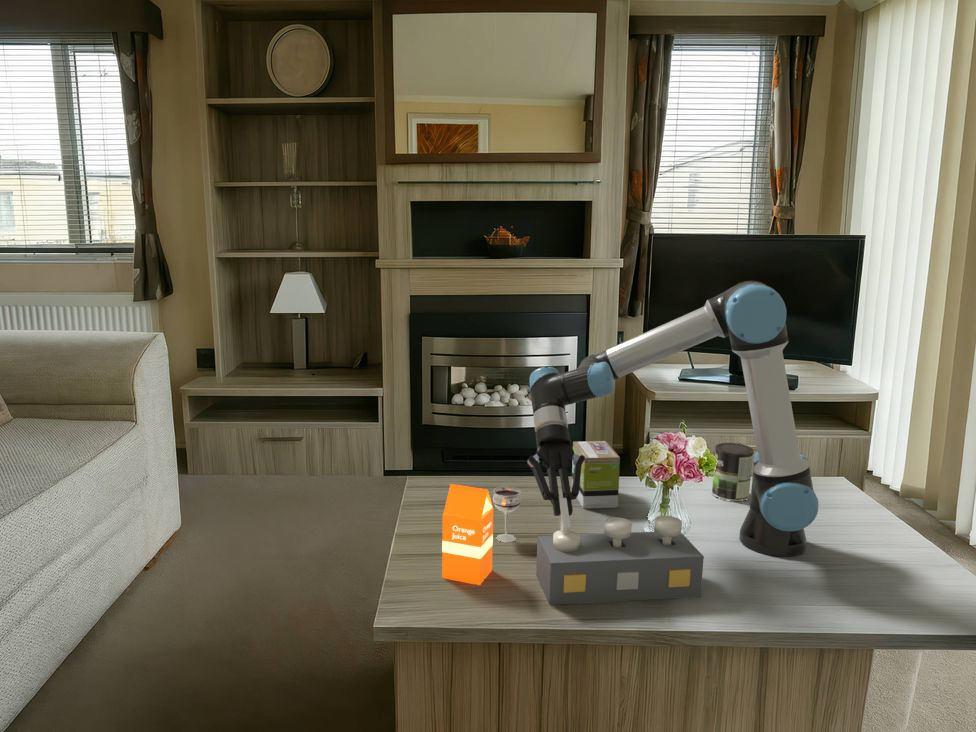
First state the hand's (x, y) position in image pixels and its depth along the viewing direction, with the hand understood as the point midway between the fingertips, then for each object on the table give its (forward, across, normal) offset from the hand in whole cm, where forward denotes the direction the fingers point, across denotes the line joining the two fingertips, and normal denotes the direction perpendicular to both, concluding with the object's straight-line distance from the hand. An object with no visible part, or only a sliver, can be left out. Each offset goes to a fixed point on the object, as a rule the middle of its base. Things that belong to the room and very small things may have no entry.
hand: (565, 529), depth 158 cm
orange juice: (+4, +20, -14) cm, 25 cm away
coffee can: (-25, -60, -43) cm, 78 cm away
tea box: (-26, -20, -44) cm, 54 cm away
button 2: (+4, -22, -4) cm, 23 cm away
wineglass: (-9, +8, -27) cm, 29 cm away
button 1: (+6, 0, -6) cm, 9 cm away
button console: (+10, -11, -8) cm, 17 cm away
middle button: (+4, -11, -4) cm, 13 cm away
